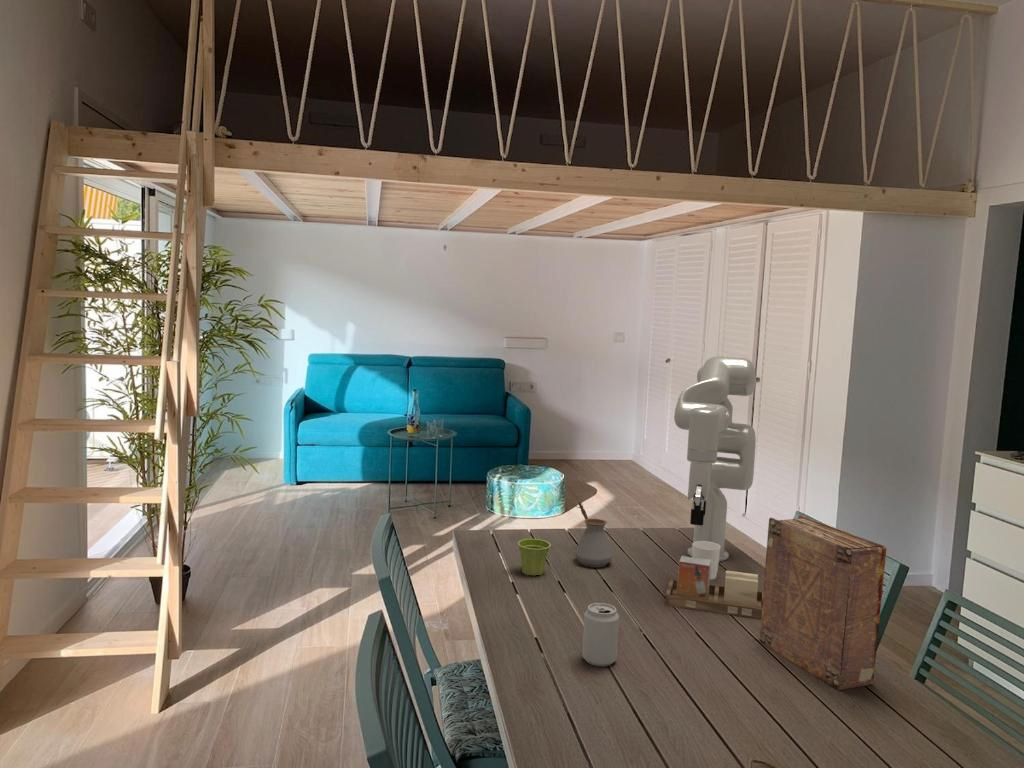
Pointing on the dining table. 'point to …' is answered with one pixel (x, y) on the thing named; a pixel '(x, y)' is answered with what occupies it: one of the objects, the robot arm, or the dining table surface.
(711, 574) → the white cup
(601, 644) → the can
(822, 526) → the book
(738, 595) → the beech block
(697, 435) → the robot arm
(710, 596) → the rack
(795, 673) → the dining table surface
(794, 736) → the dining table surface
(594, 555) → the coffee pot
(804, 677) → the dining table surface
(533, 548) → the plant pot
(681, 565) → the small box
